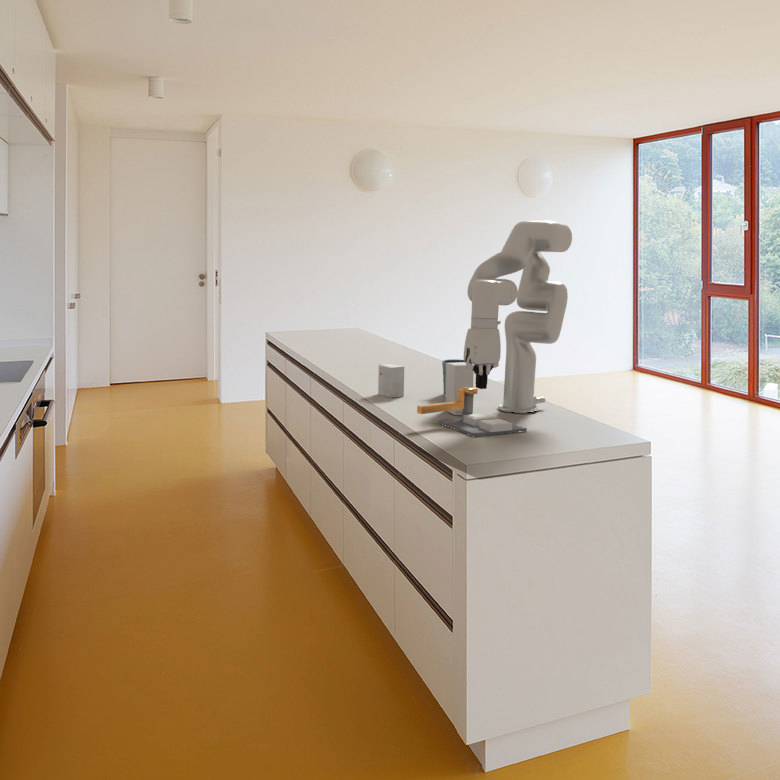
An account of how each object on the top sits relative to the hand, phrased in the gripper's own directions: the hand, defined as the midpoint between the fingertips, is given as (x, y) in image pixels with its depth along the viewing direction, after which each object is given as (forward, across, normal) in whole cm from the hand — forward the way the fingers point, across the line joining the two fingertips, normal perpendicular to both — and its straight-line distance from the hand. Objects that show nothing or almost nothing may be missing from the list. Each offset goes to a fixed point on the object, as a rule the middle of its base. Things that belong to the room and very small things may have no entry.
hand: (481, 388), depth 222 cm
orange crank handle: (+7, +8, -5) cm, 11 cm away
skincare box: (+12, -5, -18) cm, 22 cm away
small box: (+12, +1, -51) cm, 53 cm away
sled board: (+11, 0, +2) cm, 11 cm away
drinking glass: (+12, -21, -44) cm, 50 cm away
